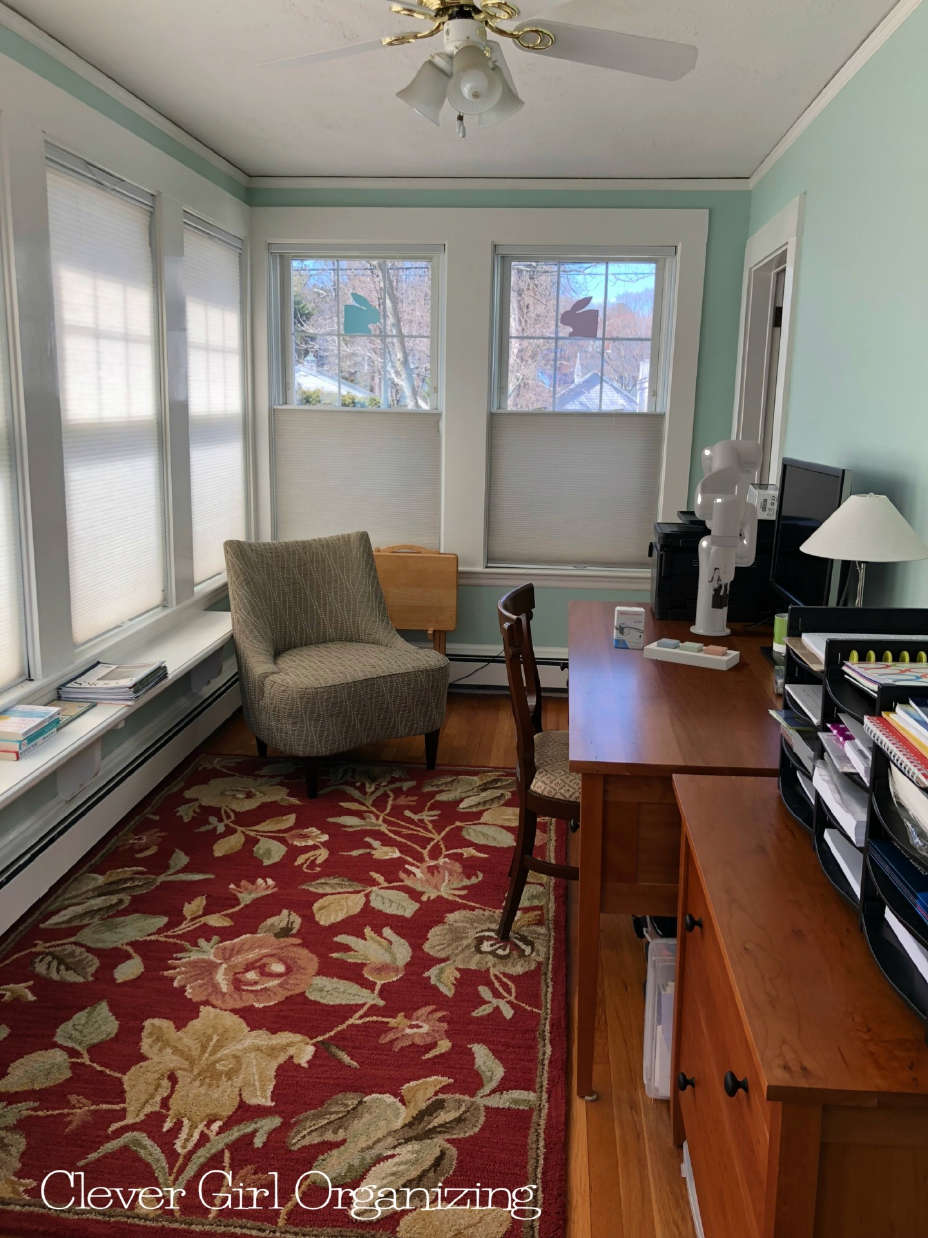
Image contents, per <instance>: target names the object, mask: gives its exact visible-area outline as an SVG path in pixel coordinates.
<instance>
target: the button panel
mask: <svg viewBox="0 0 928 1238" xmlns="http://www.w3.org/2000/svg"><path fill="white" fill-rule="evenodd" d="M657 641H658V640H657ZM657 641H654V642H652V643H650V644H647V645H646V646H644V647H643V656H642V657H643V658H646V659H651V660H656V659H657V660H658V661H663V662H669V663H677V664H683V665H687V666H688V665H689V666H690V665H691V666H694V667H703V668H707V669H713V670H720V671H727V670H728V669H731V668H732V667H734V666H735V665H736V664H738V663H739V661H740V654H741V652H740V651H735V650H728V649H727V654H726V655H724V656H723V657H722V656H715V655H709V654H704V648H706V647H707V646H703V650H702V651H701V652H699V653H695V652H689V651H682V650H680V646H679V647H678V648H676V649H669V648H662V647H657ZM683 643H684V642H683ZM683 643H681V642H680V645H681V644H683ZM657 660H656V661H657Z"/></svg>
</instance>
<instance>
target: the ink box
mask: <svg viewBox="0 0 928 1238" xmlns="http://www.w3.org/2000/svg"><path fill="white" fill-rule="evenodd" d="M645 618H646V610H645V609H644V607H633V606H616V607H615V610H614V622H613V623H614V625H613V643H612V645H613V647H614V648H615V649H616V648H619V649H636V650H643V649H644V647H643V645H644V632H645Z"/></svg>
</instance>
